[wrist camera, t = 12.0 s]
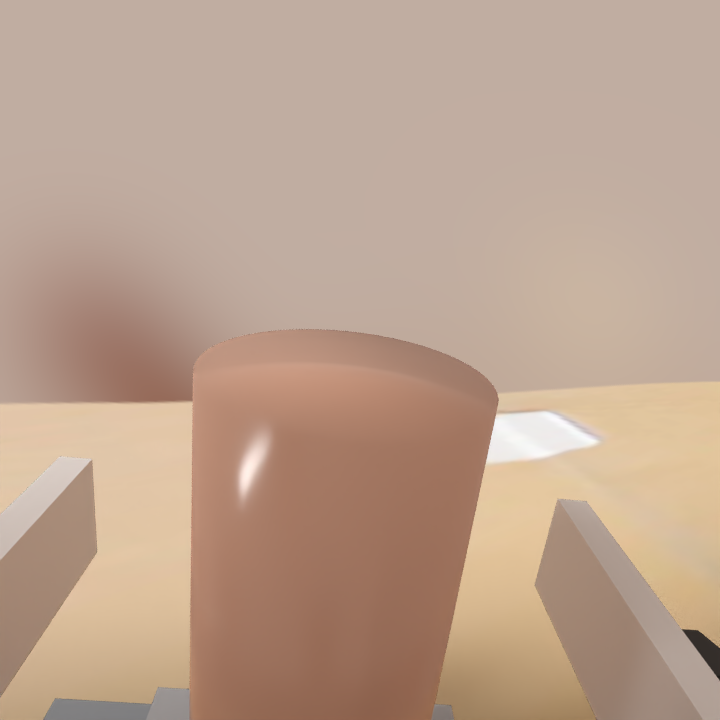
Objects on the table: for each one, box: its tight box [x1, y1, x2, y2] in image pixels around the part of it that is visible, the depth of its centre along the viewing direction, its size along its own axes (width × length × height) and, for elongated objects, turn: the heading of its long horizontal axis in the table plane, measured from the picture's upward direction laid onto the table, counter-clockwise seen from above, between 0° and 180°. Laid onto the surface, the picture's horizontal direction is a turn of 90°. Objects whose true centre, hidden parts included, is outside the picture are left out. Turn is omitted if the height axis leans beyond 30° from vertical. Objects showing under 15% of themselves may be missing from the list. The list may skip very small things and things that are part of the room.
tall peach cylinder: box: [189, 329, 499, 720], centre depth 10 cm, size 4×4×14 cm
